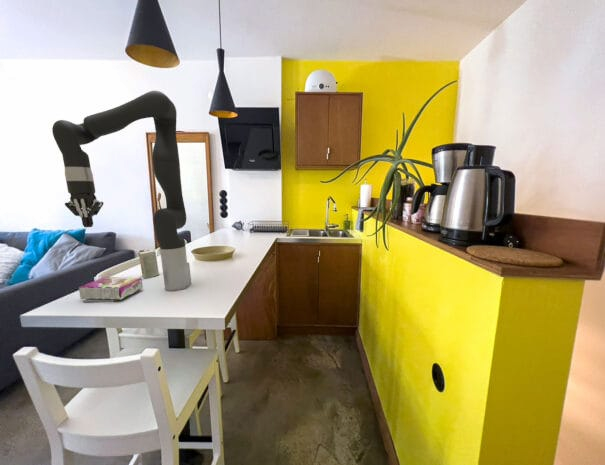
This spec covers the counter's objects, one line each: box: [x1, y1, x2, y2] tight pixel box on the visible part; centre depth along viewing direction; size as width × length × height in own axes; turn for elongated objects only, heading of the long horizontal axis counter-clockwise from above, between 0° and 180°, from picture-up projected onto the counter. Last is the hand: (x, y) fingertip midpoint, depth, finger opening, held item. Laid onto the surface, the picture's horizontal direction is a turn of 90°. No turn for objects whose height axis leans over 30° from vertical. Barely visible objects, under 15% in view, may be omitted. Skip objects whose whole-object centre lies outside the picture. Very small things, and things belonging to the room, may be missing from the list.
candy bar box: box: [78, 276, 144, 301], centre depth 92 cm, size 11×5×16 cm
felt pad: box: [82, 299, 117, 304], centre depth 94 cm, size 11×14×1 cm
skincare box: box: [138, 249, 160, 279], centre depth 113 cm, size 6×4×12 cm
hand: (88, 226), depth 90 cm, fingers closed
